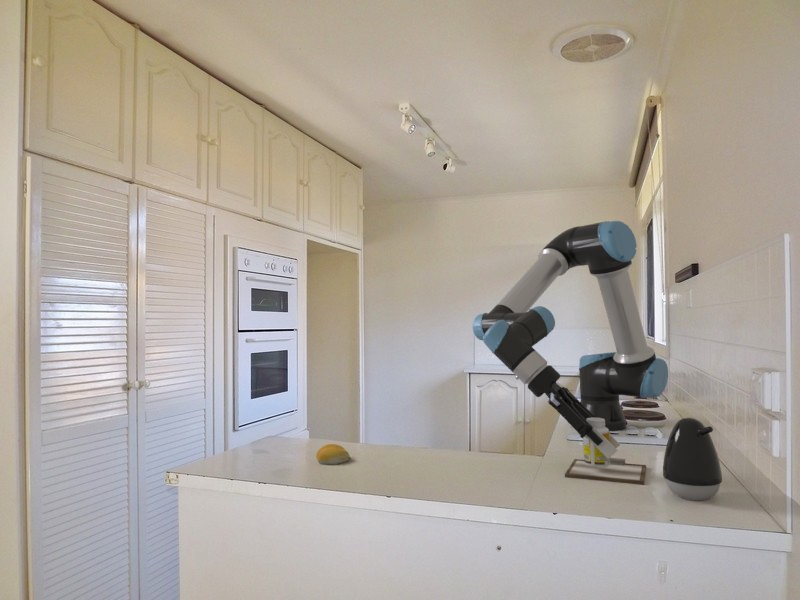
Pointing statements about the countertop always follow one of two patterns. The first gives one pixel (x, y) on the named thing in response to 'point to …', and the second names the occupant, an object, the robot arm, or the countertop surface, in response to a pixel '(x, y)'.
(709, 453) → the pump dispenser
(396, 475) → the countertop surface
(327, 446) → the bread roll
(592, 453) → the supplement bottle
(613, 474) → the clipboard
